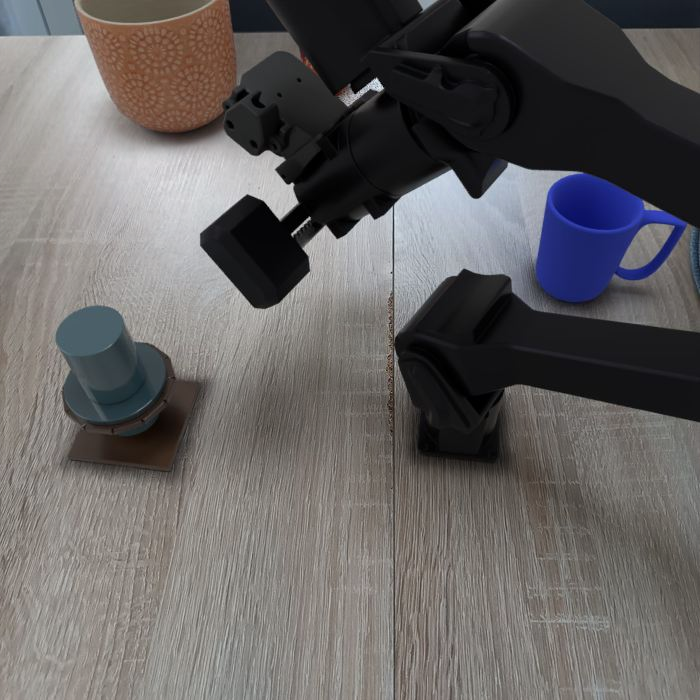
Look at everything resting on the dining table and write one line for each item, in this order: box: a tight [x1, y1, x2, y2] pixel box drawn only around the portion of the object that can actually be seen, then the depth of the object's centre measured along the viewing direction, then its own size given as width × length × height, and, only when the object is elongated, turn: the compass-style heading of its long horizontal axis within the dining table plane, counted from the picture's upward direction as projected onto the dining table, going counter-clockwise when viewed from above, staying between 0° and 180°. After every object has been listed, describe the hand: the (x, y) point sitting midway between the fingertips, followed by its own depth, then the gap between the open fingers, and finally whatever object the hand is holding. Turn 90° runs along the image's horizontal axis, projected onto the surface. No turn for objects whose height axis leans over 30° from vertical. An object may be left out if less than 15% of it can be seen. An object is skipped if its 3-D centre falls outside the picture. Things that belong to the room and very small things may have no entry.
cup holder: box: [61, 341, 201, 472], centre depth 54 cm, size 9×9×6 cm
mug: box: [535, 172, 688, 303], centre depth 61 cm, size 8×12×10 cm
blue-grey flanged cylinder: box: [54, 304, 167, 436], centre depth 50 cm, size 8×8×10 cm
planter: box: [73, 0, 238, 134], centre depth 80 cm, size 17×17×15 cm
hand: (264, 228), depth 51 cm, fingers open, 9 cm apart
